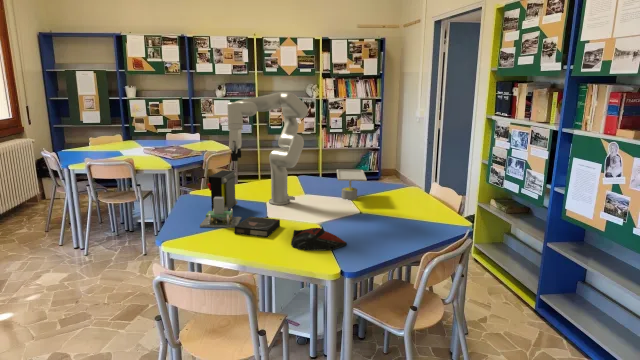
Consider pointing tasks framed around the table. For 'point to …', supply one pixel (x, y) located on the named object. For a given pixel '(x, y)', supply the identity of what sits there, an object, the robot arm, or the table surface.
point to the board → (219, 208)
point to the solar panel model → (350, 176)
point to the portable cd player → (257, 226)
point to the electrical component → (223, 188)
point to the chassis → (221, 221)
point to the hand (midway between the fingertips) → (236, 159)
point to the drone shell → (315, 240)
